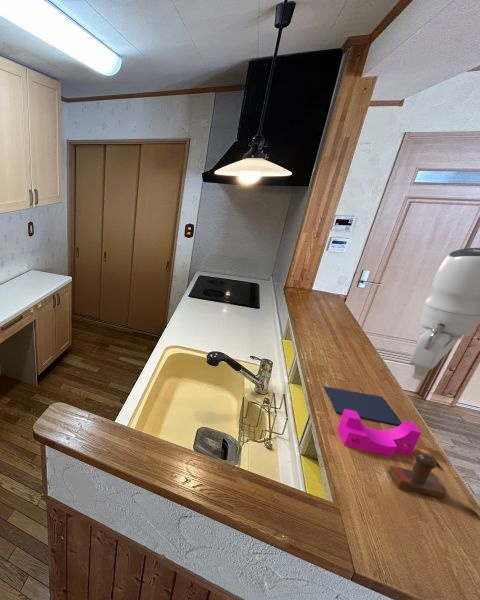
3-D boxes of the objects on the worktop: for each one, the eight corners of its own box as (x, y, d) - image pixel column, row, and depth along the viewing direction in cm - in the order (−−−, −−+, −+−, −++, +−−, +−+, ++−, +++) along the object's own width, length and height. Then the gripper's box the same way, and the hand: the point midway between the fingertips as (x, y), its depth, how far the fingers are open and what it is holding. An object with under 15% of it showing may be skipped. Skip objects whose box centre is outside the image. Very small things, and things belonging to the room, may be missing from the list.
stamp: (430, 481, 77) (444, 453, 74) (443, 500, 72) (459, 470, 69) (387, 471, 80) (400, 443, 76) (397, 488, 75) (411, 459, 72)
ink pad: (381, 398, 106) (381, 396, 106) (402, 426, 94) (403, 425, 93) (323, 387, 111) (323, 386, 111) (336, 413, 99) (337, 411, 99)
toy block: (344, 445, 87) (352, 423, 85) (337, 429, 93) (344, 408, 90) (415, 462, 82) (426, 439, 79) (403, 444, 87) (413, 422, 85)
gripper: (455, 337, 65) (429, 393, 70) (478, 314, 75) (454, 365, 80) (413, 325, 70) (391, 379, 75) (439, 306, 80) (419, 354, 85)
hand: (424, 372), depth 78 cm, fingers open, 8 cm apart
